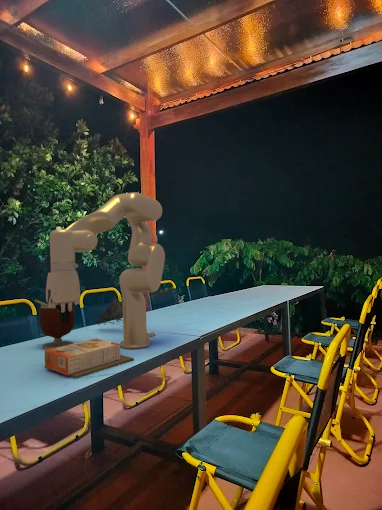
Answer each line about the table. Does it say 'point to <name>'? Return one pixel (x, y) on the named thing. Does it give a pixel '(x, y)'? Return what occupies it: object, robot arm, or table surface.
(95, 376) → the table surface
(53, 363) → the cracker box
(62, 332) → the mate gourd
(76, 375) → the mat
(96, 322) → the dried plant
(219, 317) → the table surface
